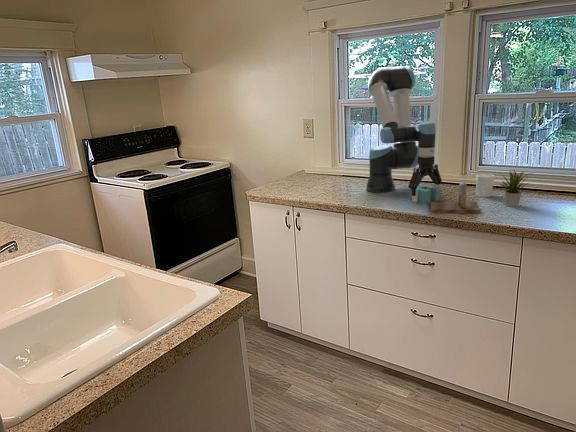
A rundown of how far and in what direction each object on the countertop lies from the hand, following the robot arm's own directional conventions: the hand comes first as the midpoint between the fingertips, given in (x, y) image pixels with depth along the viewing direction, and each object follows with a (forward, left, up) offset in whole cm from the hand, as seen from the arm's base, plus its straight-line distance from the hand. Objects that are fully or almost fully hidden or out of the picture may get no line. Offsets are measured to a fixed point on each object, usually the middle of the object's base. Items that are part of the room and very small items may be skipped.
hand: (424, 199), depth 211 cm
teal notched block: (0, 0, 0) cm, 0 cm away
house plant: (+38, -9, 0) cm, 39 cm away
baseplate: (+12, -15, 0) cm, 19 cm away
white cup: (+28, +9, 0) cm, 29 cm away
